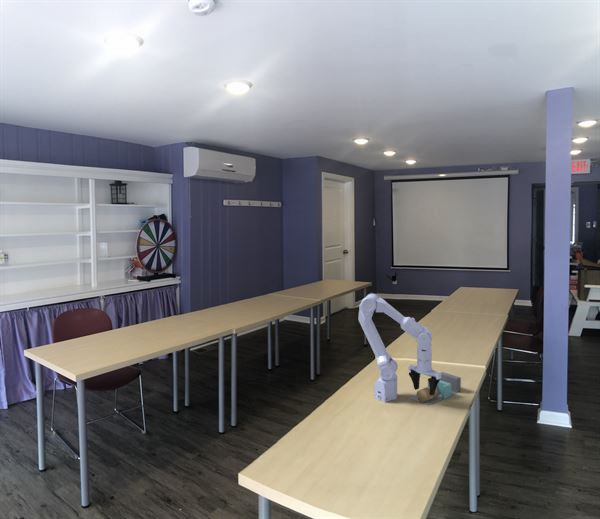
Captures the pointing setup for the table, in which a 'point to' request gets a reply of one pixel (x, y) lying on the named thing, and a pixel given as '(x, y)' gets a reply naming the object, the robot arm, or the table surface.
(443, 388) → the teal arch
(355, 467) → the table surface
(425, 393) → the dowel
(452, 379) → the backstop wall
